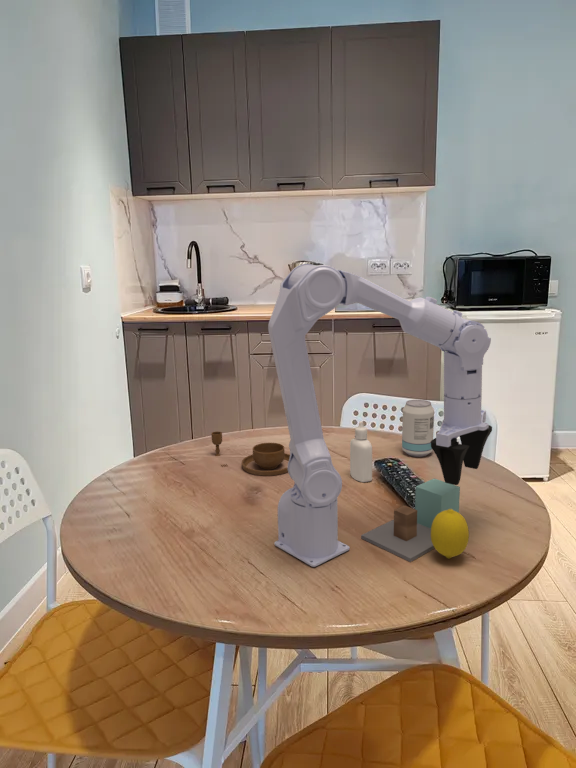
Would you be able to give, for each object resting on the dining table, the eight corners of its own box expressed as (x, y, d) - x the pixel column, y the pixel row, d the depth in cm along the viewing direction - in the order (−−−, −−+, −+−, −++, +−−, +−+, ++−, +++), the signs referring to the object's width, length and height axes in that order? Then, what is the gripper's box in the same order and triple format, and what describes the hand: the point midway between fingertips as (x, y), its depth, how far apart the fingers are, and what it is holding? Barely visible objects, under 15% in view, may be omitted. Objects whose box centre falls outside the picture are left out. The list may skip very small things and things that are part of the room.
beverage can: (420, 446, 137) (421, 397, 135) (439, 455, 131) (440, 404, 128) (395, 451, 135) (396, 401, 132) (413, 460, 128) (415, 408, 126)
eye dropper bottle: (370, 472, 122) (371, 418, 119) (372, 483, 117) (372, 426, 114) (350, 472, 123) (350, 418, 120) (350, 482, 117) (350, 426, 114)
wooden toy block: (393, 535, 94) (394, 509, 93) (403, 530, 96) (404, 505, 95) (406, 541, 92) (407, 515, 91) (416, 535, 94) (417, 510, 93)
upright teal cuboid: (414, 522, 100) (415, 486, 98) (432, 513, 103) (434, 478, 101) (440, 532, 96) (441, 495, 94) (458, 522, 99) (460, 486, 98)
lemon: (439, 545, 92) (441, 498, 90) (473, 556, 88) (476, 507, 87) (423, 559, 88) (424, 511, 86) (458, 571, 84) (460, 521, 82)
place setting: (242, 486, 118) (241, 458, 117) (207, 456, 135) (206, 432, 134) (316, 469, 126) (316, 443, 125) (274, 443, 143) (273, 421, 142)
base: (361, 538, 95) (361, 535, 94) (400, 519, 101) (400, 516, 101) (410, 562, 87) (410, 558, 87) (449, 539, 93) (449, 536, 93)
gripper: (468, 409, 84) (467, 496, 87) (504, 387, 94) (502, 465, 97) (423, 403, 88) (424, 486, 91) (463, 382, 99) (462, 457, 102)
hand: (461, 475), depth 95 cm, fingers open, 7 cm apart
